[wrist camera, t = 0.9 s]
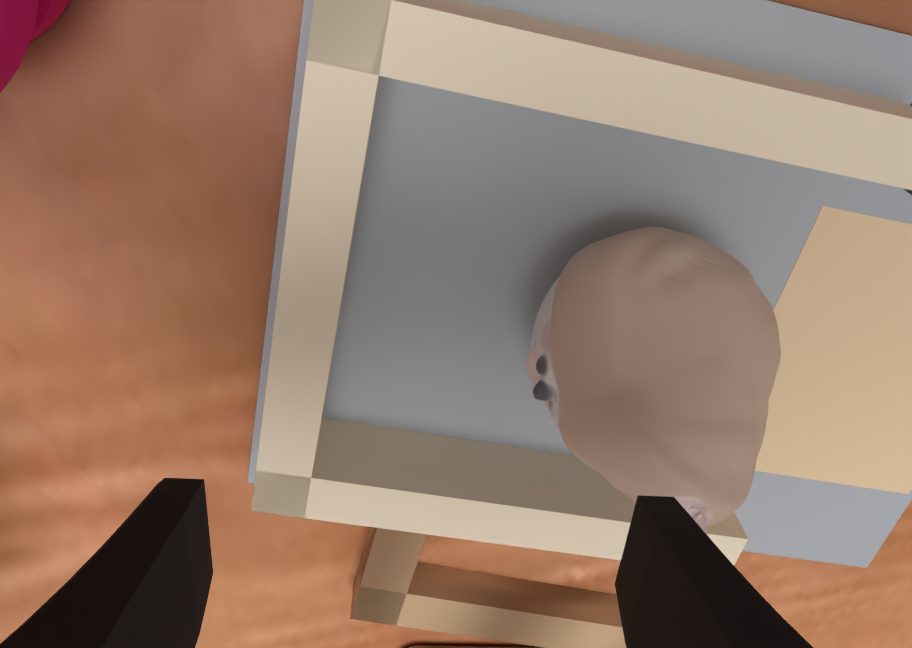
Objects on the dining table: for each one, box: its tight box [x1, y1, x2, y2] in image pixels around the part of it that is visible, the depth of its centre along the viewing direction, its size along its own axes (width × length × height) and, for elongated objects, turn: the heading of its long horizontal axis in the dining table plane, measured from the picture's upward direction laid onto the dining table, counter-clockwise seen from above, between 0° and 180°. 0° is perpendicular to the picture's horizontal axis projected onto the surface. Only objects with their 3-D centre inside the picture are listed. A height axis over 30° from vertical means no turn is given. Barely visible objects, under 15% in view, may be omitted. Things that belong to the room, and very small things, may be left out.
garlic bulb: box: [526, 227, 781, 537], centre depth 19 cm, size 7×6×8 cm
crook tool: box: [350, 527, 626, 648], centre depth 27 cm, size 12×4×2 cm, turn 75°
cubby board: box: [248, 0, 912, 568], centre depth 21 cm, size 22×17×3 cm
